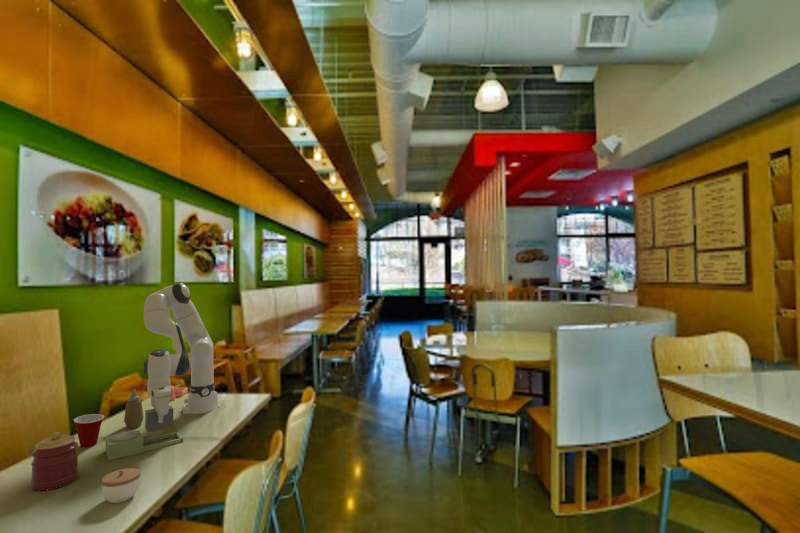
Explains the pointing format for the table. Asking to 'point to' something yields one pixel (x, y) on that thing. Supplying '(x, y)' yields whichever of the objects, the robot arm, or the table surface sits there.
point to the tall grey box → (152, 420)
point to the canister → (54, 462)
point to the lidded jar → (120, 484)
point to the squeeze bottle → (133, 411)
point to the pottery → (177, 392)
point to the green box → (135, 443)
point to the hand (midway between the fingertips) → (159, 420)
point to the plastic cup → (88, 429)
